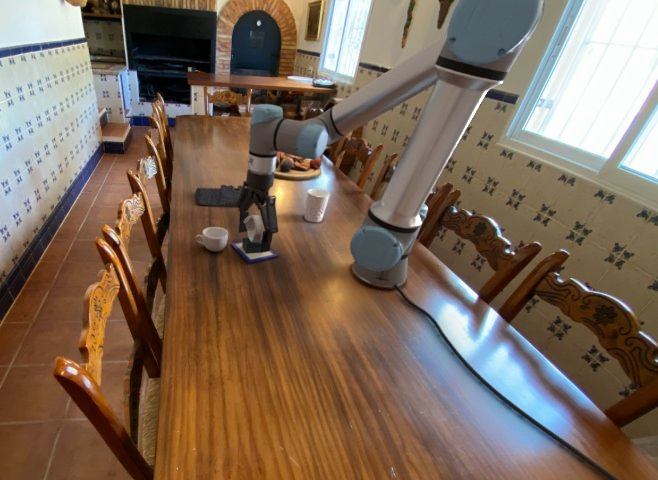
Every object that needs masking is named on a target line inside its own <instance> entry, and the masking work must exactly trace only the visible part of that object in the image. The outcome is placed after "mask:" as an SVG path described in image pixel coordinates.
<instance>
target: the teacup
mask: <svg viewBox="0 0 658 480" xmlns="http://www.w3.org/2000/svg"><path fill="white" fill-rule="evenodd" d="M198 238H200V239H201V240H202V241H200V240H198ZM228 238H229V231H228V230H227V229H226V228H223V227H219V226H209V227H206V228H204V229H203V230H202V234H197V235H196V236H195V242H196V243H198V244H200V245H203V246H204V247H205V248H206V249H207V250H208V251H210V252H220V251H223V250H224V249H225V248H226V247H227V244H228Z"/></svg>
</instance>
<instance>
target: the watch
mask: <svg viewBox="0 0 658 480" xmlns="http://www.w3.org/2000/svg"><path fill="white" fill-rule="evenodd" d="M244 223H245V224H246V229H247V232H246V233H247V237H242V241H243V243H242V247H243V249H244V251H245V253H246V254H249V253H261V244H262V236H263V221H262V217H261V215H259V214H251V215H250V214H249V216H248V217H247V218H246V219H245V221H244Z"/></svg>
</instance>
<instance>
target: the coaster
mask: <svg viewBox="0 0 658 480" xmlns="http://www.w3.org/2000/svg"><path fill="white" fill-rule="evenodd" d="M242 243H243V240H242V241H237V242H231V243H230V246H231V247H232V248H233V250H235V251H236V252H238V254H239V255H240V256H241V257H242V258H243V259H244V261H246V262H247V263H248V264H253V263H258V262H262V261H266V260H270V259H271V260H272V259H276V258H278V254H277V253H275V252H274V251H273V250H272V249H271V248H270V251H268V252H264V253H249V254H246V253H245V251H244V249H243V247H242Z"/></svg>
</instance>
